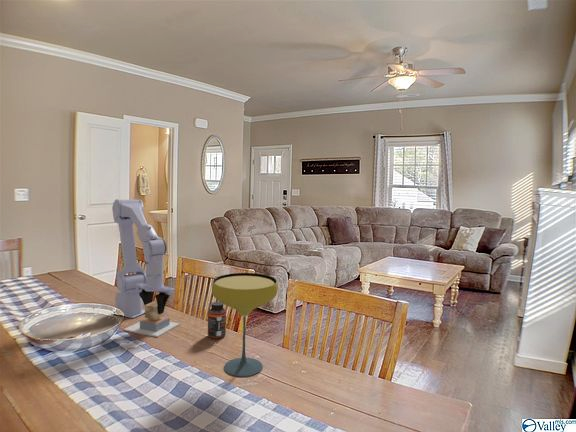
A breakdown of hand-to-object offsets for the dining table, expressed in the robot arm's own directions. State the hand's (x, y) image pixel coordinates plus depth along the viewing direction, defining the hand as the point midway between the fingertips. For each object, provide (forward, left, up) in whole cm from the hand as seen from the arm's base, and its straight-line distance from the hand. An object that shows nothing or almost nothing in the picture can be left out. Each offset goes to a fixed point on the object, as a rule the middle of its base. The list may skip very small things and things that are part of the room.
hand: (154, 312), depth 133 cm
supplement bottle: (+23, +3, -6) cm, 24 cm away
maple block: (0, 0, -2) cm, 2 cm away
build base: (-1, 0, -6) cm, 6 cm away
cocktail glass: (+41, -13, -6) cm, 43 cm away
